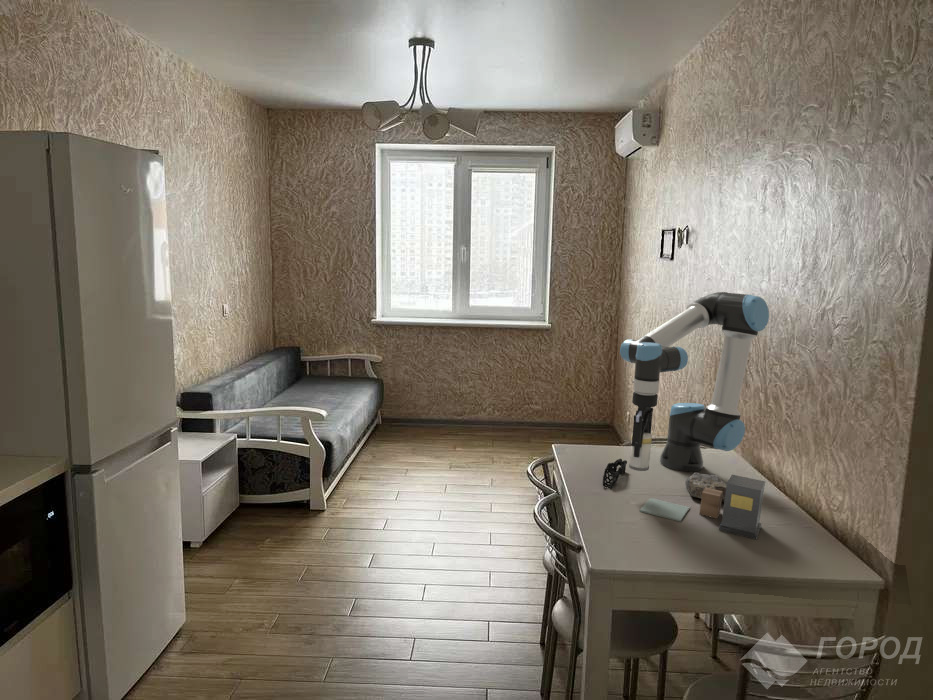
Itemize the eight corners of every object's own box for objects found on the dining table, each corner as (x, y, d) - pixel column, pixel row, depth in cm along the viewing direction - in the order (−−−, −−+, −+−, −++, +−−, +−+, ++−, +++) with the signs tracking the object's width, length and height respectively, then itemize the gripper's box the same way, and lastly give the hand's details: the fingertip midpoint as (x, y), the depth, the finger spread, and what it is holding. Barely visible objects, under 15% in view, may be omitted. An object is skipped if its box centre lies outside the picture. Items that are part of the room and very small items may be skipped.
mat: (650, 499, 212) (650, 497, 212) (689, 508, 206) (689, 507, 206) (639, 511, 202) (639, 509, 202) (680, 521, 196) (680, 520, 196)
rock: (682, 486, 226) (691, 504, 211) (684, 468, 225) (692, 485, 210) (721, 489, 224) (732, 508, 210) (723, 471, 223) (734, 488, 208)
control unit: (725, 517, 201) (730, 473, 198) (761, 526, 196) (767, 480, 193) (718, 529, 192) (724, 483, 189) (756, 539, 187) (762, 491, 184)
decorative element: (615, 491, 218) (617, 474, 217) (599, 488, 220) (601, 470, 219) (627, 471, 238) (629, 455, 237) (613, 468, 240) (615, 452, 239)
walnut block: (702, 509, 207) (705, 487, 205) (719, 513, 204) (722, 491, 203) (699, 514, 202) (702, 492, 201) (716, 518, 200) (719, 496, 199)
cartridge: (632, 462, 217) (634, 430, 215) (651, 466, 214) (654, 433, 212) (626, 468, 212) (629, 434, 210) (645, 472, 209) (648, 438, 207)
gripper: (642, 385, 219) (636, 453, 223) (624, 396, 203) (618, 469, 207) (665, 388, 215) (658, 457, 219) (649, 400, 199) (642, 474, 203)
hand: (639, 463), depth 213 cm, fingers closed on cartridge, 6 cm apart
